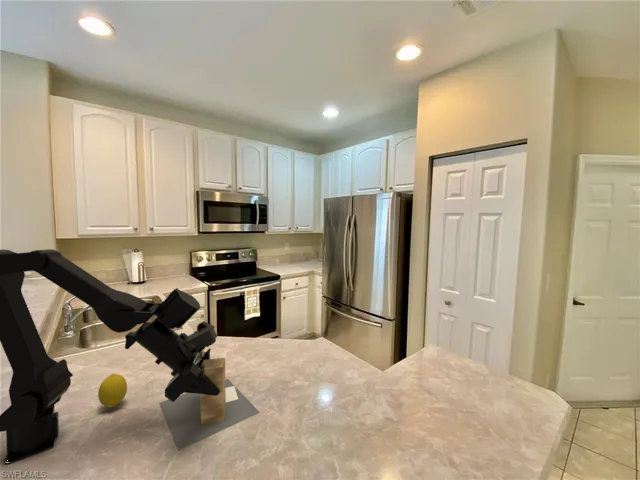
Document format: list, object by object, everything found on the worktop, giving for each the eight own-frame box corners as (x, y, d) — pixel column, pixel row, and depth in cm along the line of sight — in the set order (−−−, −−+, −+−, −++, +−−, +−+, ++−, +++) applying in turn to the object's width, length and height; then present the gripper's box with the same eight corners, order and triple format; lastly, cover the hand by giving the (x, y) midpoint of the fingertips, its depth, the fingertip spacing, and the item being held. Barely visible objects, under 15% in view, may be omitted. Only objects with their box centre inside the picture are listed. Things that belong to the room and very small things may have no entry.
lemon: (93, 410, 65) (93, 376, 65) (120, 397, 70) (119, 366, 70) (106, 417, 62) (105, 382, 62) (132, 403, 67) (131, 371, 67)
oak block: (200, 424, 59) (200, 369, 59) (204, 411, 63) (203, 359, 63) (223, 421, 60) (222, 367, 60) (225, 408, 64) (225, 357, 64)
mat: (178, 453, 52) (178, 450, 52) (159, 405, 67) (159, 402, 67) (259, 414, 63) (259, 412, 63) (227, 380, 78) (227, 378, 78)
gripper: (182, 330, 51) (244, 380, 54) (201, 304, 69) (247, 343, 72) (135, 377, 50) (202, 426, 52) (167, 338, 68) (215, 377, 71)
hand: (220, 387), depth 62 cm, fingers closed on oak block, 5 cm apart
